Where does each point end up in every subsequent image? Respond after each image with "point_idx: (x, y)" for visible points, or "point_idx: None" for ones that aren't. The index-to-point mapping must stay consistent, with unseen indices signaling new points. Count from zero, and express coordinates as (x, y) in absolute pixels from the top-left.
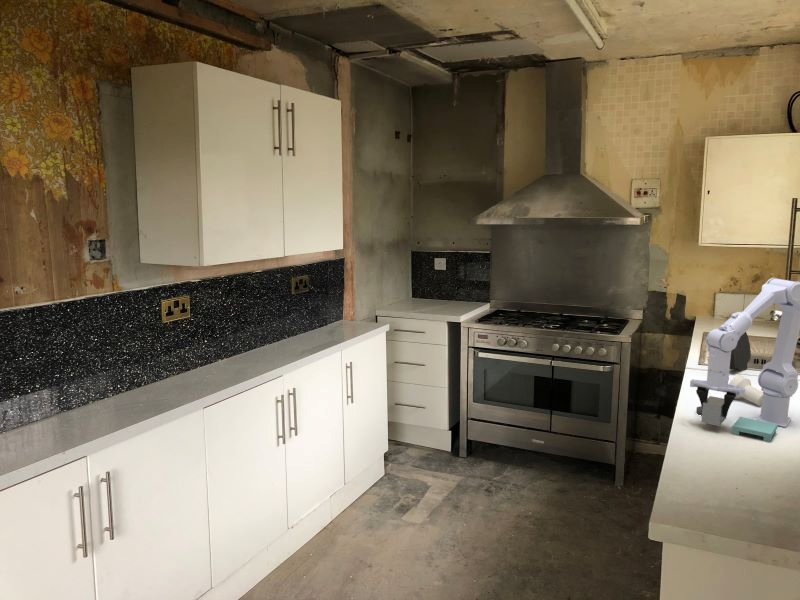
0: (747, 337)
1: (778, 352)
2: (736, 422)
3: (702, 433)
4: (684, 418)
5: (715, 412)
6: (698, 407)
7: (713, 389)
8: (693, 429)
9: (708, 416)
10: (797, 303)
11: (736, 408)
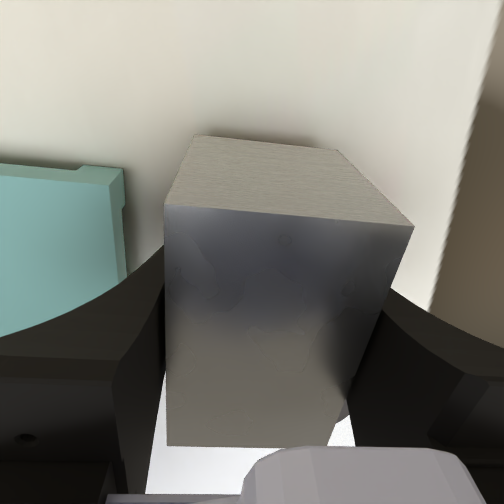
0: None
1: None
2: (110, 273)
3: (306, 46)
4: (411, 281)
5: (237, 175)
6: (347, 407)
7: (375, 451)
8: (369, 106)
9: (296, 160)
10: None
11: (200, 481)
